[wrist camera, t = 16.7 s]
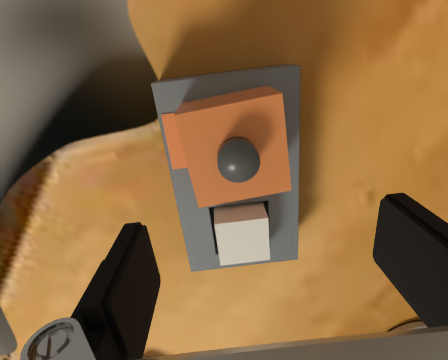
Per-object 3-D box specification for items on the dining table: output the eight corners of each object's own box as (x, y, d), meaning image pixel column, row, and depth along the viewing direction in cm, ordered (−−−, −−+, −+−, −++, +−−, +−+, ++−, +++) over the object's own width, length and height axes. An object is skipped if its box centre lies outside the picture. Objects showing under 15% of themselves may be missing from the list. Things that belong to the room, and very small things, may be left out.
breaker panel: (287, 64, 25) (300, 65, 21) (288, 237, 33) (298, 259, 30) (159, 79, 25) (150, 83, 21) (193, 248, 33) (191, 272, 30)
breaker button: (262, 201, 27) (268, 218, 24) (264, 241, 29) (270, 259, 27) (213, 207, 27) (214, 224, 25) (219, 246, 29) (220, 265, 27)
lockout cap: (267, 85, 22) (288, 96, 16) (276, 165, 25) (297, 200, 19) (181, 103, 22) (170, 120, 16) (200, 180, 25) (197, 218, 19)
